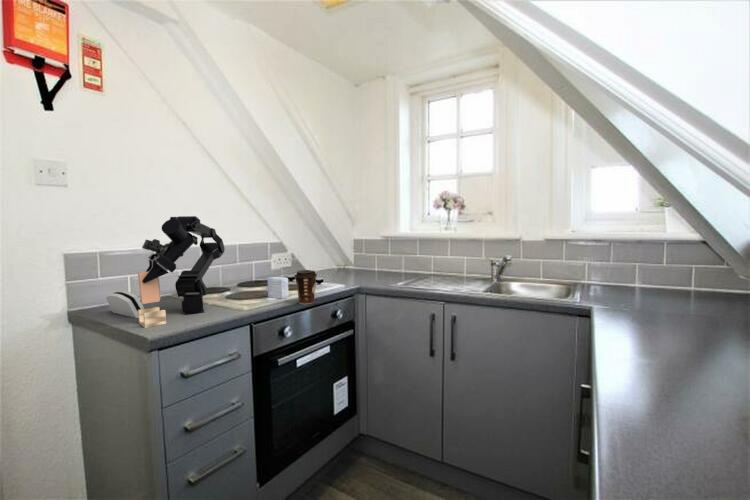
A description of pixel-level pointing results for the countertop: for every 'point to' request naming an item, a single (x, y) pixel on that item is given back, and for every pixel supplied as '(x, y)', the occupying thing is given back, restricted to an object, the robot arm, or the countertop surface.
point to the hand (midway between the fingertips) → (142, 281)
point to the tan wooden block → (151, 317)
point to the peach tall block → (149, 289)
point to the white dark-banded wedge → (124, 303)
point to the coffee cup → (306, 286)
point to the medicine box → (278, 287)
